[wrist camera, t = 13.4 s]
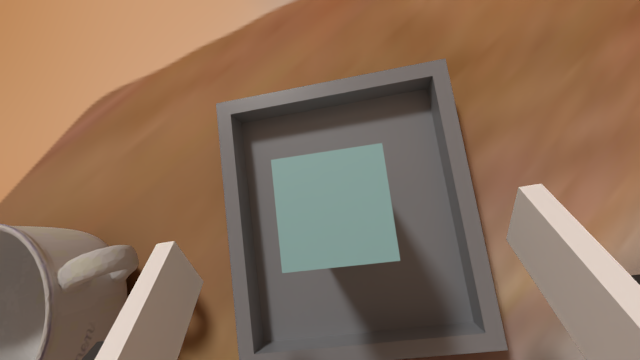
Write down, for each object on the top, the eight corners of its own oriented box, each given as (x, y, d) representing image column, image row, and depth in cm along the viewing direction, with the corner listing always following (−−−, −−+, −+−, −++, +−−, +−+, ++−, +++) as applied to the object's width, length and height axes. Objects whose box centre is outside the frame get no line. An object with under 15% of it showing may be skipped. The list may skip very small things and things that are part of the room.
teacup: (37, 373, 25) (-116, 444, 17) (26, 239, 26) (-117, 246, 19) (197, 339, 23) (112, 399, 15) (175, 199, 25) (87, 189, 17)
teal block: (319, 249, 22) (282, 272, 12) (311, 186, 22) (270, 159, 13) (383, 242, 21) (400, 260, 11) (374, 178, 22) (382, 142, 12)
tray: (256, 352, 22) (240, 372, 19) (233, 117, 25) (216, 103, 22) (487, 331, 20) (507, 350, 17) (434, 79, 23) (445, 58, 20)
